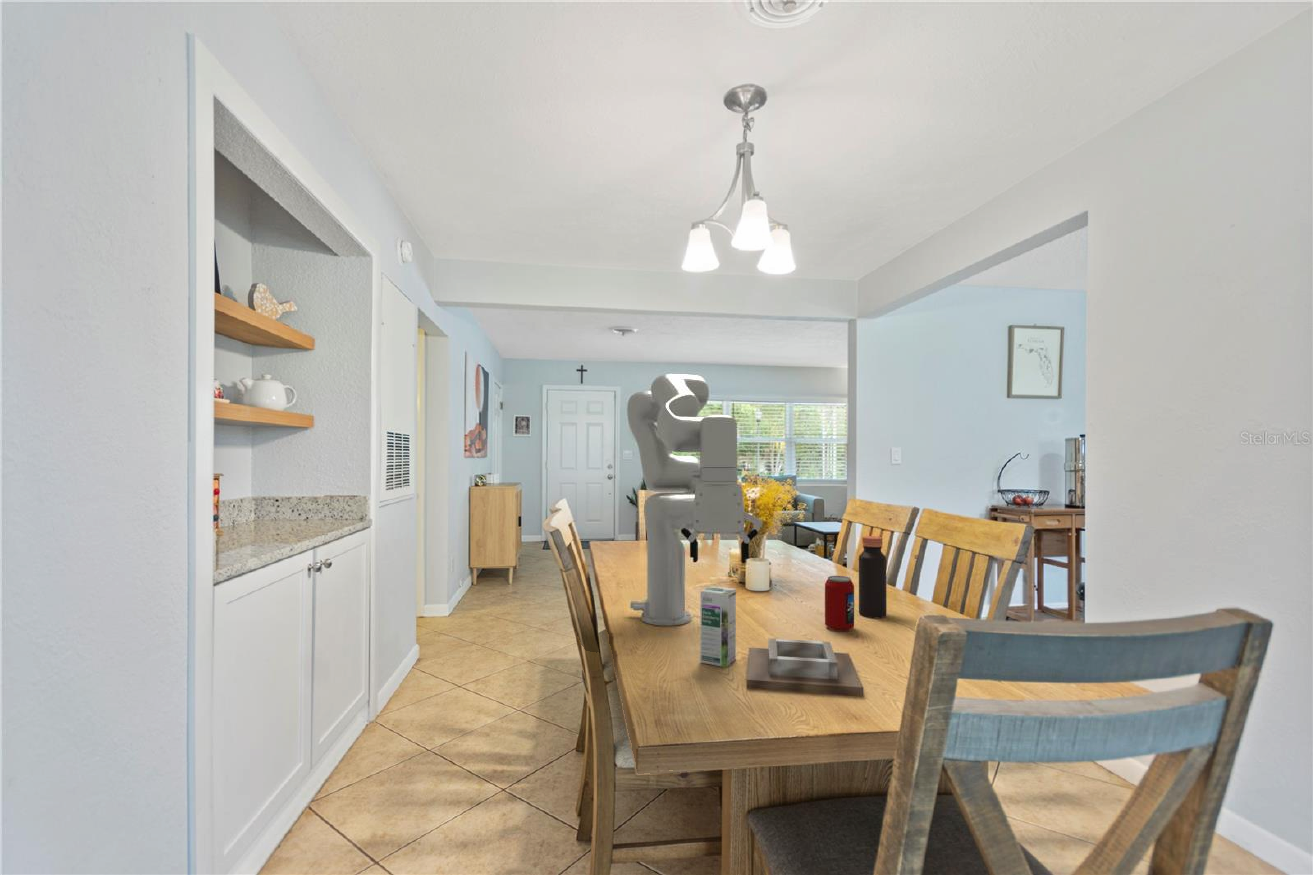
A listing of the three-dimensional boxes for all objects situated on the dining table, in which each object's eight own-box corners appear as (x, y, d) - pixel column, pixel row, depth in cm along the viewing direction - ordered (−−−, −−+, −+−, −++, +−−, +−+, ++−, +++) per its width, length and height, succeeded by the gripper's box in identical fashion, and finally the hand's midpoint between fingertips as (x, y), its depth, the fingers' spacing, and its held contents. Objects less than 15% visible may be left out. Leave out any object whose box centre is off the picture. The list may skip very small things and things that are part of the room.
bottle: (889, 613, 159) (888, 536, 159) (883, 619, 153) (883, 540, 153) (862, 610, 162) (862, 534, 163) (855, 615, 157) (855, 537, 157)
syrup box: (699, 663, 121) (699, 590, 122) (710, 654, 127) (710, 584, 127) (726, 668, 119) (726, 593, 119) (736, 659, 124) (736, 587, 124)
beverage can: (858, 632, 142) (857, 581, 142) (829, 632, 142) (828, 580, 143) (849, 624, 149) (849, 575, 149) (821, 624, 149) (821, 575, 149)
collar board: (746, 688, 109) (746, 662, 109) (748, 654, 126) (748, 633, 127) (863, 696, 105) (863, 670, 105) (848, 660, 123) (848, 638, 123)
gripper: (673, 477, 121) (674, 564, 120) (762, 477, 118) (763, 566, 117) (678, 476, 128) (679, 558, 128) (762, 476, 125) (762, 560, 125)
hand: (719, 561), depth 123 cm, fingers open, 9 cm apart
